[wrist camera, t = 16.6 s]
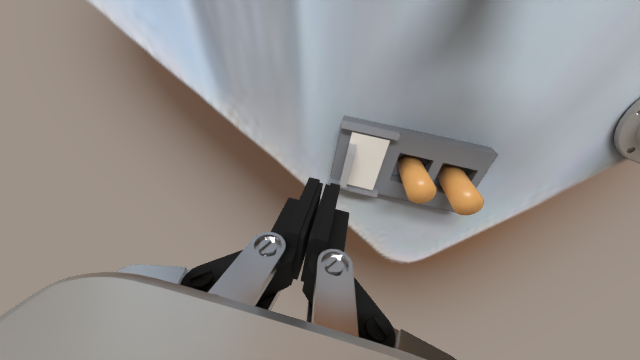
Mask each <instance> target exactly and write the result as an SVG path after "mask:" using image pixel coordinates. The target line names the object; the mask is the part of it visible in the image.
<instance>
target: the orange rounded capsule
mask: <svg viewBox="0 0 640 360" xmlns="http://www.w3.org/2000/svg"><path fill="white" fill-rule="evenodd" d="M397 168H398V171H399V174H400V177H401V180H402V182H403V185H404V188H405V191H406V194H407V197H408V199H409V200H410V201H412V202H414V203H419V204H421V203H426V202H428V201H430V200H431V199H433V198H434V196H435V194H436V187H435V185H434V183H433V181H432V180H431V178H430V176H429V174H428V173H427V171H426V169H425V167H424V166H423V164H422V162H421V160H420V159H419V157H416V156H411V155H404V156H402V157H401V158H400V159H399V160H398V163H397Z"/></svg>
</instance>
